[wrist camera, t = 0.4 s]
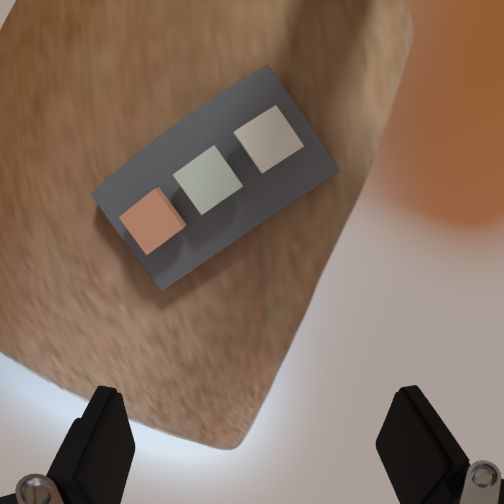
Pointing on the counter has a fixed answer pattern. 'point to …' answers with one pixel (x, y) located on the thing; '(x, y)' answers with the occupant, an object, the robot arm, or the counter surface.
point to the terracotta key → (152, 220)
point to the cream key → (268, 139)
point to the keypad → (254, 182)
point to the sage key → (207, 180)
